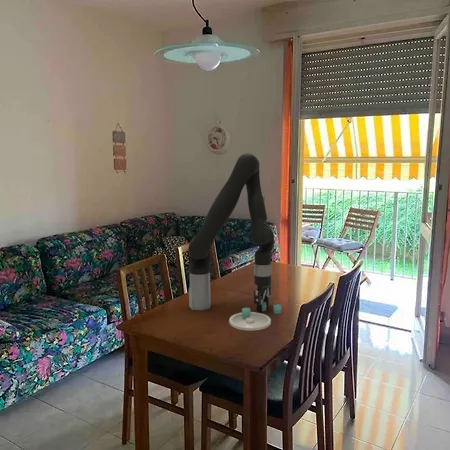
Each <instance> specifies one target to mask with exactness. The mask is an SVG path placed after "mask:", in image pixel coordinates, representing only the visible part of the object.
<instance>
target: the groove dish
mask: <svg viewBox="0 0 450 450" xmlns="http://www.w3.org/2000/svg"><path fill="white" fill-rule="evenodd" d="M271 322H272V319H271V317H270V316H268V315H267V314H265V313H263V312H261V313H259V312H257V311H256V312H255V311H250V317H248V318H246V320H244V319H242V312H238V313H235V314H233V315H231V316H230V317H229V320H228V323H229V325H230V326H231V327H233V328H234V329H237V330H241V331H248V332H249V331H250V332H254V331H261V330H264V329H267V328H269V327H270V326H271V325H272V323H271Z"/></svg>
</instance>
